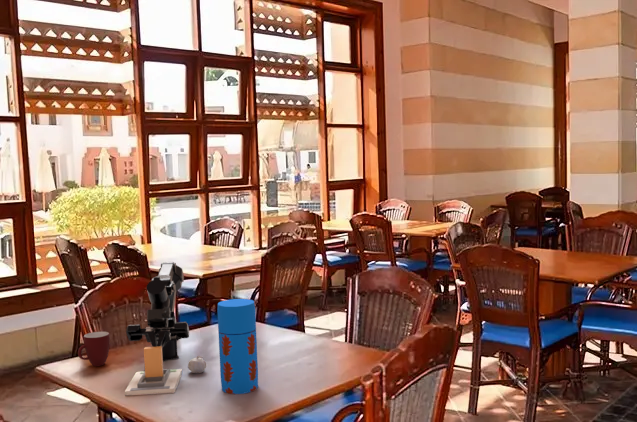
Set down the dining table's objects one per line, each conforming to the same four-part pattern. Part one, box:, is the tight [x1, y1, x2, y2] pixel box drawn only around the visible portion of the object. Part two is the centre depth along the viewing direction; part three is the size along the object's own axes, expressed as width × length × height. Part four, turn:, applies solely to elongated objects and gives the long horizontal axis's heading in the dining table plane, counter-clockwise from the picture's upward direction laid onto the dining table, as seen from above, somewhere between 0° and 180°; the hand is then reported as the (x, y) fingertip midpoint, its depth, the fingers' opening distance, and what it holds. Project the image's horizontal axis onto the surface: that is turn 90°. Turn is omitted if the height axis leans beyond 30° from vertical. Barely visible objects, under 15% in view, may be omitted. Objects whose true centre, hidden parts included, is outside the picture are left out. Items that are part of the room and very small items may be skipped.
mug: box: [77, 331, 111, 367], centre depth 227 cm, size 11×8×10 cm
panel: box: [124, 368, 183, 396], centre depth 206 cm, size 18×14×2 cm
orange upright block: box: [143, 346, 164, 381], centre depth 205 cm, size 4×5×10 cm
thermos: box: [217, 298, 259, 395], centre depth 199 cm, size 11×11×25 cm
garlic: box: [187, 355, 207, 374], centre depth 216 cm, size 6×5×5 cm
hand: (156, 355), depth 210 cm, fingers closed
